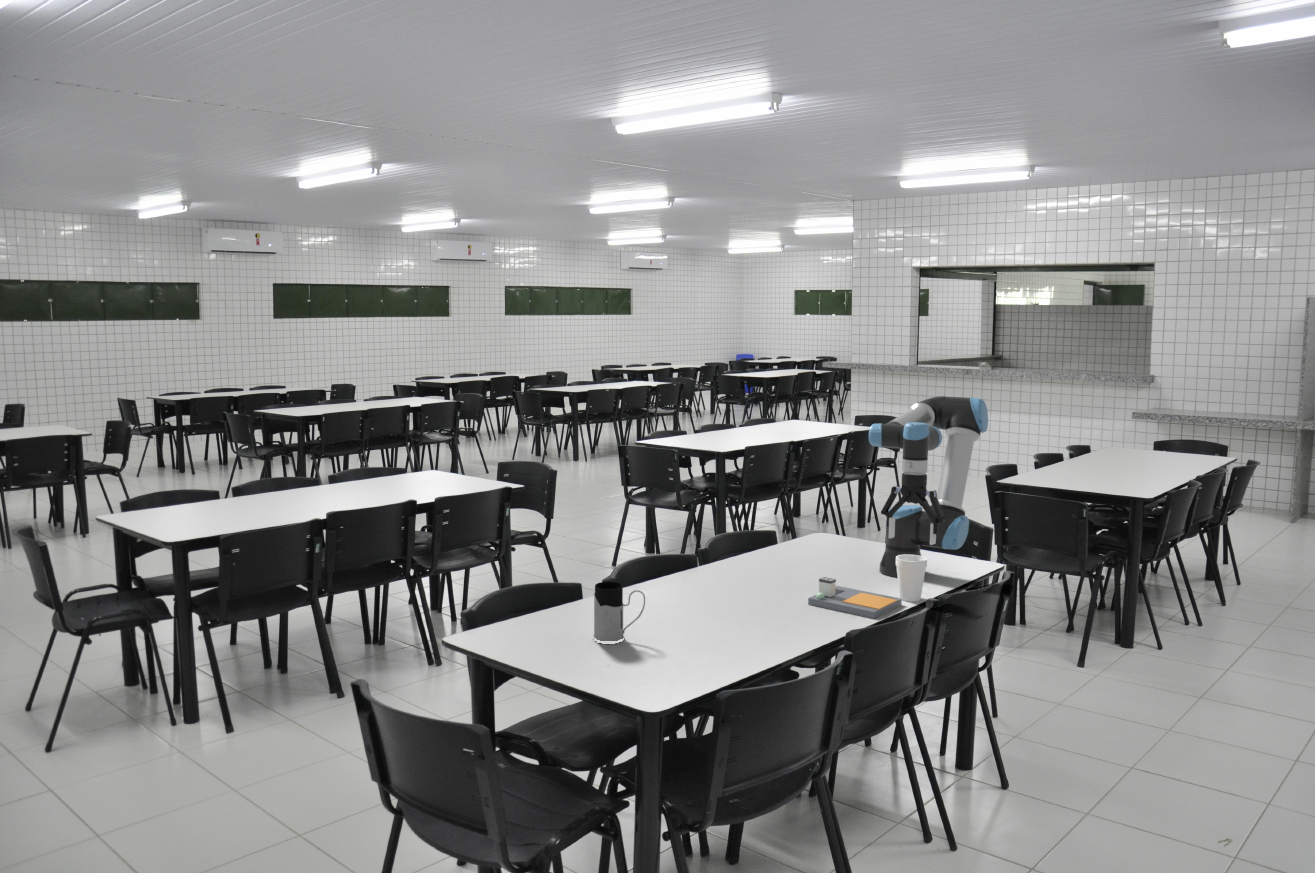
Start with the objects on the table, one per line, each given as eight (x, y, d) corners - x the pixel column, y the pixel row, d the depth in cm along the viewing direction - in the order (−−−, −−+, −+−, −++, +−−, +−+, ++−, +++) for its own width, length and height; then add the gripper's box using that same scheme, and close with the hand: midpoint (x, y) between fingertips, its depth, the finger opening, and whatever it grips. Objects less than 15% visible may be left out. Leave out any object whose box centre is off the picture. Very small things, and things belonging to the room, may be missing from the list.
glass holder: (594, 633, 266) (594, 580, 264) (645, 634, 265) (645, 581, 263) (590, 644, 257) (590, 589, 255) (644, 645, 256) (644, 590, 255)
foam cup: (926, 603, 296) (927, 562, 294) (895, 602, 297) (896, 560, 296) (924, 595, 305) (925, 555, 303) (893, 593, 307) (895, 553, 305)
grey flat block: (837, 591, 308) (837, 581, 308) (901, 604, 294) (901, 593, 294) (808, 604, 295) (808, 593, 294) (873, 618, 281) (874, 606, 280)
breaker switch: (823, 592, 299) (824, 576, 299) (835, 594, 297) (835, 579, 296) (818, 594, 297) (819, 578, 297) (830, 597, 295) (830, 581, 294)
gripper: (871, 470, 301) (869, 536, 304) (948, 478, 286) (945, 548, 288) (882, 467, 307) (880, 533, 310) (958, 475, 291) (955, 544, 294)
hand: (911, 540), depth 299 cm, fingers open, 13 cm apart
